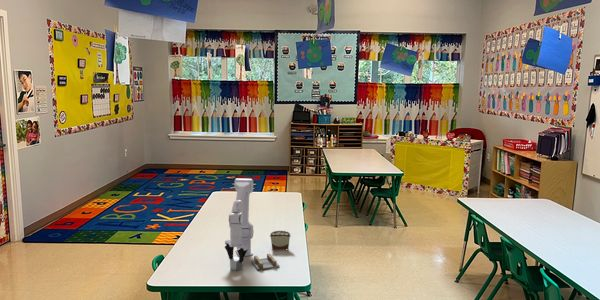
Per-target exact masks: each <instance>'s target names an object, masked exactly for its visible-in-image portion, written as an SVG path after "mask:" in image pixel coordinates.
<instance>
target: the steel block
mask: <svg viewBox="0 0 600 300" xmlns="http://www.w3.org/2000/svg"><path fill="white" fill-rule="evenodd" d="M229 265H230V266H229V268H230V271H233V272H235V273H238V272H239V271H242V270H243V262H241V263H240V262H239V256H233V258H231V259H229Z"/></svg>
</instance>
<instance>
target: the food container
mask: <svg viewBox="0 0 600 300" xmlns="http://www.w3.org/2000/svg"><path fill="white" fill-rule="evenodd" d="M291 236H292V235H291V233H290V231H287V230H274V231H272V232H270V234H269V237H270V241H271V242H270V243H271V250H272V251H287V250H286V249H288V250H289V246H290V238H291Z"/></svg>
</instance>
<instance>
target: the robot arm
mask: <svg viewBox="0 0 600 300" xmlns="http://www.w3.org/2000/svg"><path fill="white" fill-rule="evenodd" d="M233 185H234V187H233V188H234V189H235V191H236V197H235V201H233V203H232V208H231V213H229V215H228V223H229V230H230V232H229V233H230V240H229V239H227V240H225V241H224V244H225V246H224V249H225V250H226V252H227V256H228V259H229V260H230V259H231V258H234V251H235V253H236V254H237V255H238V257H239V262H240V263H241V262H242V263H244V260H245V257H247V256H254V253H253V252H252V250H251V247H252V244H251V243H252V240H251V239H253V237H254V225H253V224H252V223H251V222H250V220H249V215H250V213H249V212H250V194H252V193H253V191H254V180H253V178H240V177H239V178H238V177H237V178H235V179H234V184H233ZM235 248H236V249H235ZM234 249H235V250H234Z"/></svg>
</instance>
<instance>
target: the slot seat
mask: <svg viewBox="0 0 600 300" xmlns="http://www.w3.org/2000/svg"><path fill="white" fill-rule="evenodd" d="M250 262H251V264H252V265H253V266H254V268H255V269H256V270H257V271H258V272H260V271H266V270H271V269H272V268H273V269H277V267H279V268H280V265H279V263H277V260H276V258H274V257H273V255H272V254H270V253H267V254H266V258H264V257H263V258H259V257H258V256H257V255H253V259H252V260H251V261H250Z"/></svg>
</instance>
